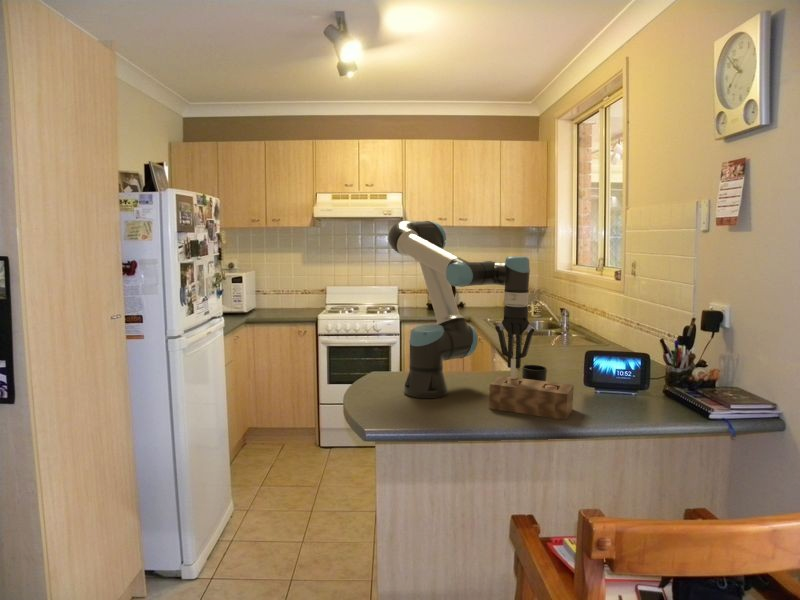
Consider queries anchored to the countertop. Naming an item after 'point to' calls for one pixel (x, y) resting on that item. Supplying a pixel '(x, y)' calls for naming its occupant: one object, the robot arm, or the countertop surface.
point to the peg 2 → (551, 387)
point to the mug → (534, 372)
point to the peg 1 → (513, 381)
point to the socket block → (532, 397)
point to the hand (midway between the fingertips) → (513, 377)
